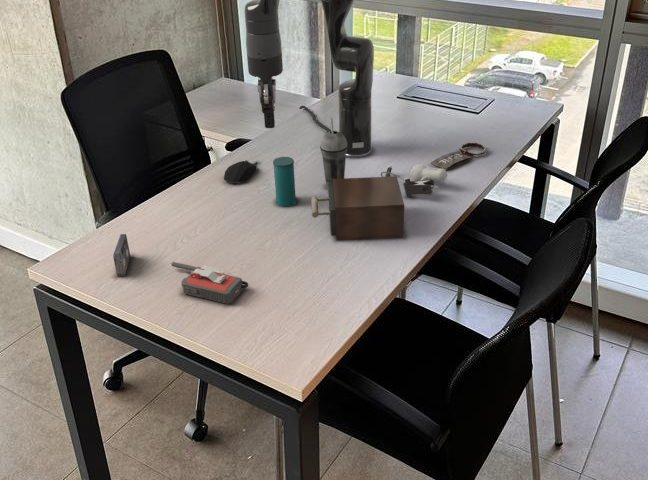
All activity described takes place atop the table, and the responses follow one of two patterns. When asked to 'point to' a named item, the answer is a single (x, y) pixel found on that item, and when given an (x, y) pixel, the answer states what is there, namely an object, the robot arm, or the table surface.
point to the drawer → (331, 208)
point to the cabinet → (368, 208)
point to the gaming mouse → (239, 172)
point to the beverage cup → (333, 155)
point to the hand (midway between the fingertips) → (270, 126)
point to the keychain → (459, 156)
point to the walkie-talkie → (211, 283)
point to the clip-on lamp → (421, 179)
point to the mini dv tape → (121, 255)
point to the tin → (284, 181)
